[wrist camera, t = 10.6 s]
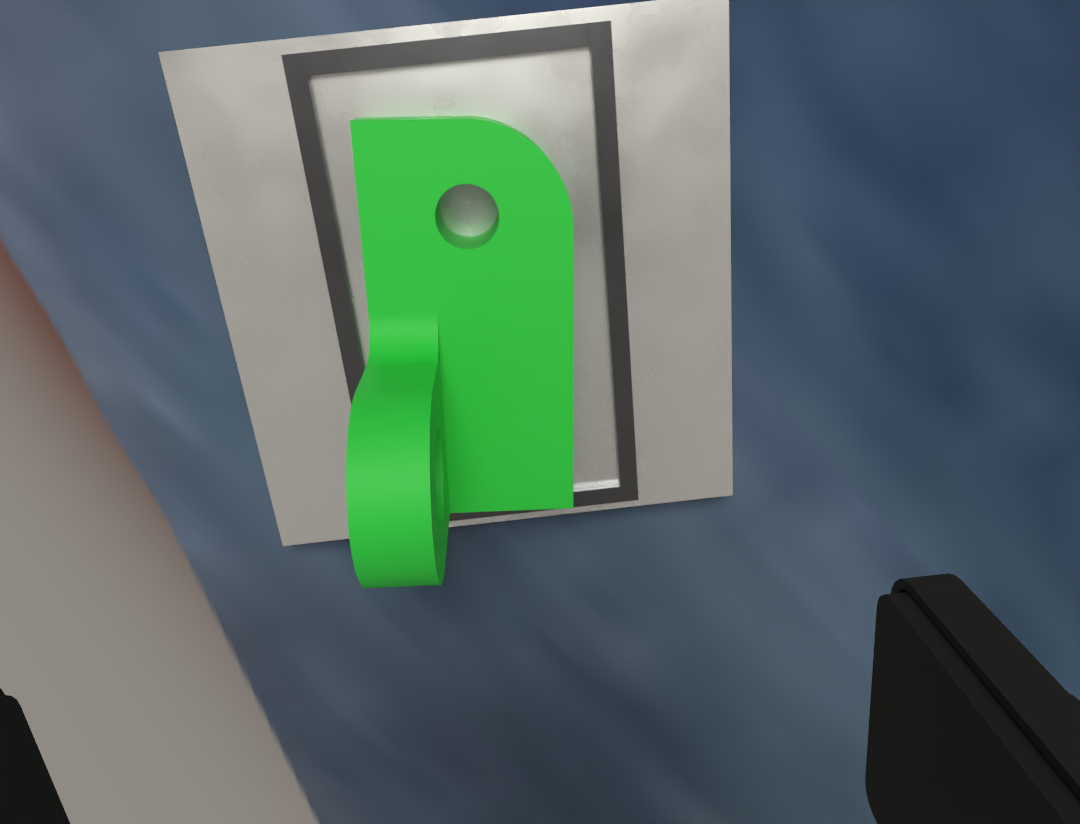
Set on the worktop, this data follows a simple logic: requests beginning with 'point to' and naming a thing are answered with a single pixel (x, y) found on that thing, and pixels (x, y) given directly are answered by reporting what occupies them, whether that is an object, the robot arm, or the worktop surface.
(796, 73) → the worktop surface
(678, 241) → the flange
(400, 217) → the mechanical part
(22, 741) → the robot arm
